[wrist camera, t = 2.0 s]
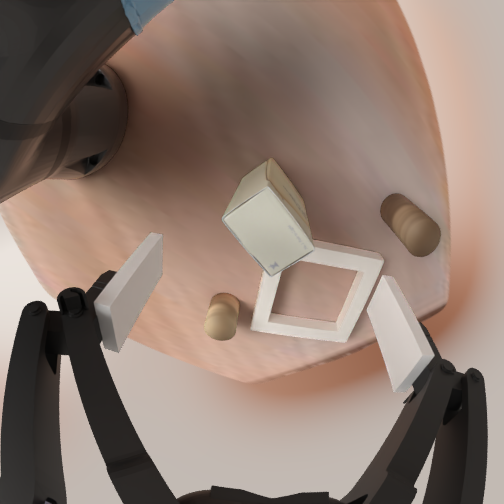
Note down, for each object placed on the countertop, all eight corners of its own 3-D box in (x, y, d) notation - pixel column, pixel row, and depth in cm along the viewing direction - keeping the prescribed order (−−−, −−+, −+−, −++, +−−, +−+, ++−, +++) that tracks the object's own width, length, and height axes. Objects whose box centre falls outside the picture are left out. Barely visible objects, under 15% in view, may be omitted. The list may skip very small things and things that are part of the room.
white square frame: (251, 320, 40) (250, 330, 39) (271, 231, 34) (271, 238, 32) (343, 333, 41) (345, 342, 39) (379, 252, 34) (384, 260, 32)
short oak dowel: (209, 312, 40) (203, 337, 36) (212, 290, 38) (205, 314, 34) (237, 317, 40) (233, 342, 36) (241, 295, 38) (237, 320, 34)
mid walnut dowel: (376, 220, 32) (400, 253, 25) (386, 189, 30) (415, 215, 23) (403, 227, 32) (431, 259, 25) (413, 198, 30) (446, 224, 23)
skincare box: (304, 200, 32) (320, 251, 21) (272, 221, 33) (271, 281, 22) (270, 154, 29) (270, 183, 19) (237, 178, 31) (218, 220, 20)
